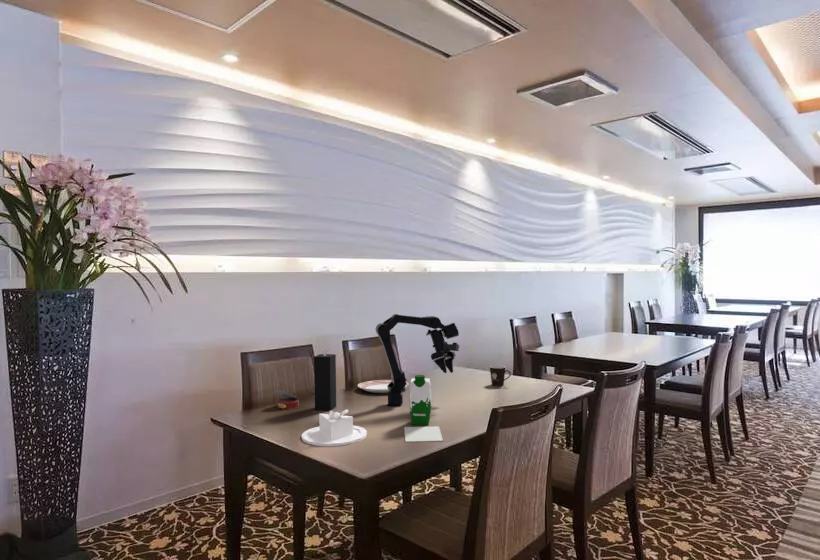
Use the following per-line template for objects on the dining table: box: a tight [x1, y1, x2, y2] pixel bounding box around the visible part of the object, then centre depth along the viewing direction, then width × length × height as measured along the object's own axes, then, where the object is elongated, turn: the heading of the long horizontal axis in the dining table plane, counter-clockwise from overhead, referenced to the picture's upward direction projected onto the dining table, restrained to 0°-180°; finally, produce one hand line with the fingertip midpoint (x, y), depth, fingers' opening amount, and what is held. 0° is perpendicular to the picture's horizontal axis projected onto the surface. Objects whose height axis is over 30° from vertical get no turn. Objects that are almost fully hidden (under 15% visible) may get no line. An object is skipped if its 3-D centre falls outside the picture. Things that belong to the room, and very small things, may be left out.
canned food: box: [277, 390, 300, 410], centre depth 253 cm, size 11×10×10 cm
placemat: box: [403, 425, 444, 443], centre depth 207 cm, size 18×14×1 cm
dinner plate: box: [357, 379, 410, 394], centre depth 287 cm, size 28×27×3 cm
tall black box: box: [313, 347, 337, 411], centre depth 248 cm, size 8×8×28 cm
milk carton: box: [409, 374, 432, 426], centre depth 222 cm, size 9×9×20 cm
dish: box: [301, 408, 368, 447], centre depth 206 cm, size 25×25×11 cm
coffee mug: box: [489, 365, 512, 387], centre depth 293 cm, size 12×9×10 cm
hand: (448, 372), depth 253 cm, fingers open, 9 cm apart
